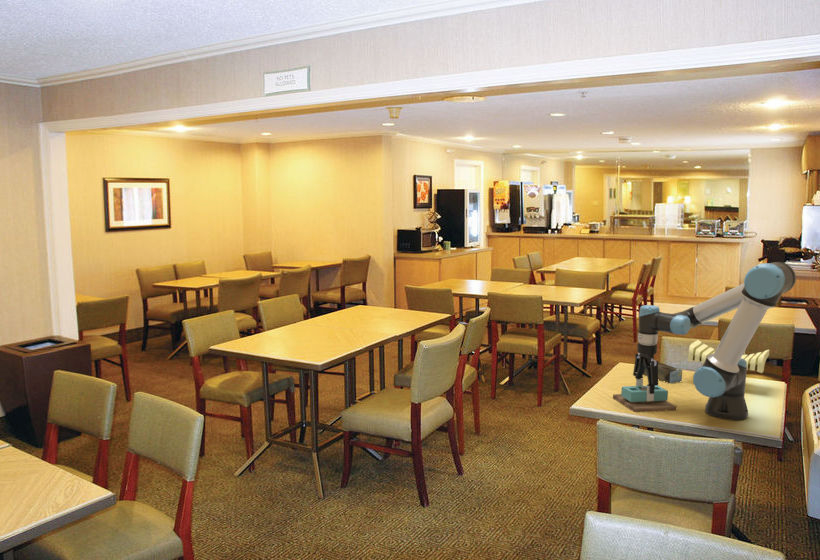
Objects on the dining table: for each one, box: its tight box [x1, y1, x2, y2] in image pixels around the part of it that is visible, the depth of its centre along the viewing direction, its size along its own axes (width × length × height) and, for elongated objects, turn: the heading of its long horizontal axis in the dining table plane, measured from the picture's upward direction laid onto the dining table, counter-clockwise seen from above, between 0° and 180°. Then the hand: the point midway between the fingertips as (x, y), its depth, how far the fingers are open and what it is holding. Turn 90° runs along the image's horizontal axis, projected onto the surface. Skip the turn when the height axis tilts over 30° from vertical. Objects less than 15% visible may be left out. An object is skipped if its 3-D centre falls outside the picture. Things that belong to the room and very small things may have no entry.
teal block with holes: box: [620, 384, 669, 402], centre depth 262 cm, size 16×8×4 cm, turn 99°
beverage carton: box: [643, 361, 683, 384], centre depth 301 cm, size 8×19×7 cm, turn 24°
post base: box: [612, 385, 678, 413], centre depth 262 cm, size 18×18×7 cm
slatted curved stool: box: [687, 339, 770, 374], centre depth 288 cm, size 30×16×18 cm, turn 52°
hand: (644, 397), depth 262 cm, fingers closed on teal block with holes, 8 cm apart
